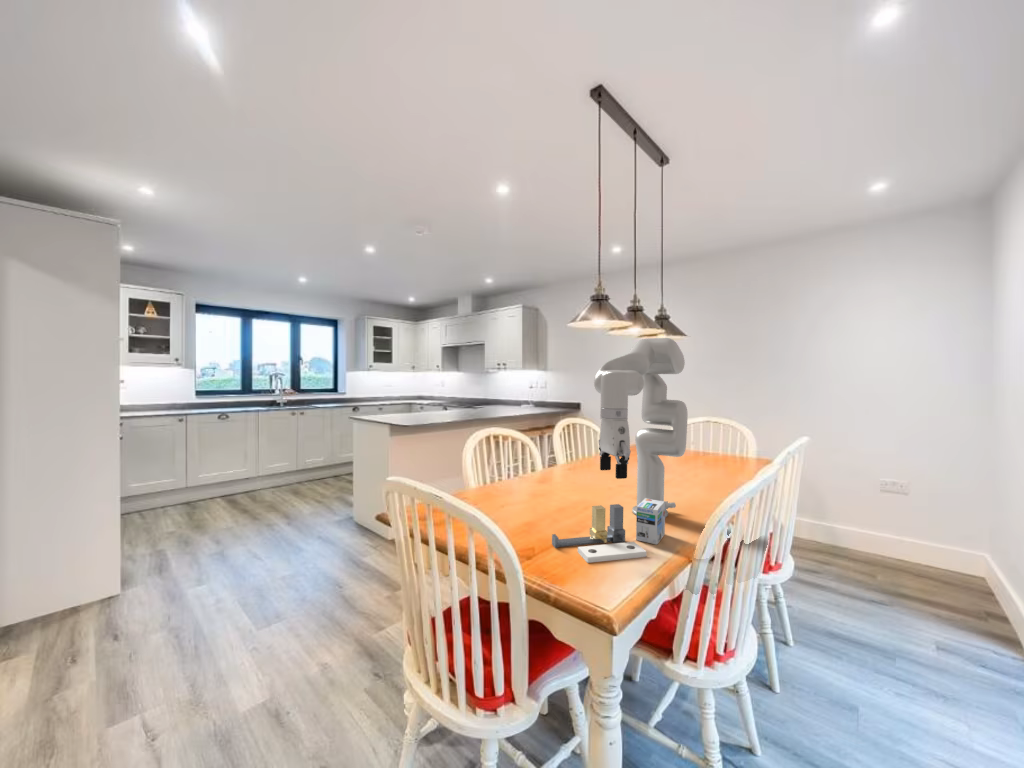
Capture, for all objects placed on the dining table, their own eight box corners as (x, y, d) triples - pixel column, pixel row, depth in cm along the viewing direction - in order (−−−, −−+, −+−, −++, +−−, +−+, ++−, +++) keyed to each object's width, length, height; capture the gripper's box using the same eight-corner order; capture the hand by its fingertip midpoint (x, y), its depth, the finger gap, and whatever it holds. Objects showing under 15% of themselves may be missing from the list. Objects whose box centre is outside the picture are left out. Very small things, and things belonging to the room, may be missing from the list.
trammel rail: (618, 537, 135) (619, 503, 134) (629, 546, 128) (630, 510, 127) (551, 543, 129) (551, 508, 129) (559, 553, 122) (559, 516, 122)
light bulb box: (657, 545, 129) (658, 510, 128) (635, 540, 132) (635, 506, 132) (665, 534, 138) (666, 501, 137) (644, 529, 141) (644, 497, 141)
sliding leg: (601, 533, 133) (601, 504, 133) (611, 542, 126) (612, 512, 126) (589, 534, 132) (590, 505, 132) (599, 543, 125) (599, 513, 125)
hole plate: (633, 546, 127) (633, 541, 127) (646, 556, 121) (646, 551, 121) (577, 552, 123) (577, 546, 123) (587, 562, 116) (587, 557, 116)
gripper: (641, 417, 113) (640, 481, 114) (612, 411, 130) (611, 466, 130) (616, 418, 111) (615, 482, 112) (589, 411, 128) (588, 467, 129)
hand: (613, 474), depth 121 cm, fingers open, 9 cm apart
